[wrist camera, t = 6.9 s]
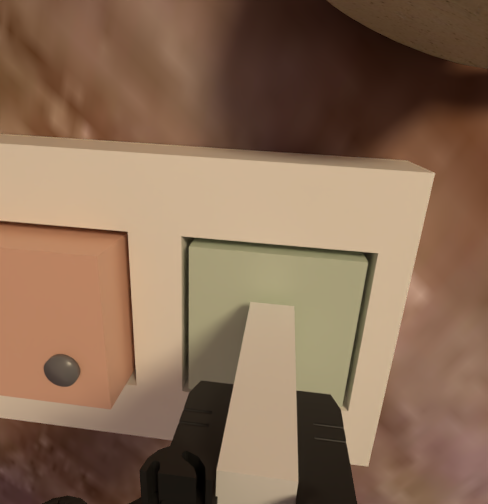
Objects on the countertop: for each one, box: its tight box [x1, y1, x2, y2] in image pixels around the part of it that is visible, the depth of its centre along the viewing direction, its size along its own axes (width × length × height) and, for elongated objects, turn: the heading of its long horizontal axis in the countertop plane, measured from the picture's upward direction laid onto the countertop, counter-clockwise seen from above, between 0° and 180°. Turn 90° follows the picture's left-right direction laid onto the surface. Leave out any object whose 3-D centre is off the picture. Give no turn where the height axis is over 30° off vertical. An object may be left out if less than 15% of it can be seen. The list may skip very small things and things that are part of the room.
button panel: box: [0, 134, 435, 466], centre depth 16 cm, size 12×26×3 cm, turn 87°
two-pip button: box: [0, 221, 136, 409], centre depth 14 cm, size 6×6×3 cm
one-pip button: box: [189, 238, 368, 407], centre depth 15 cm, size 6×6×3 cm
